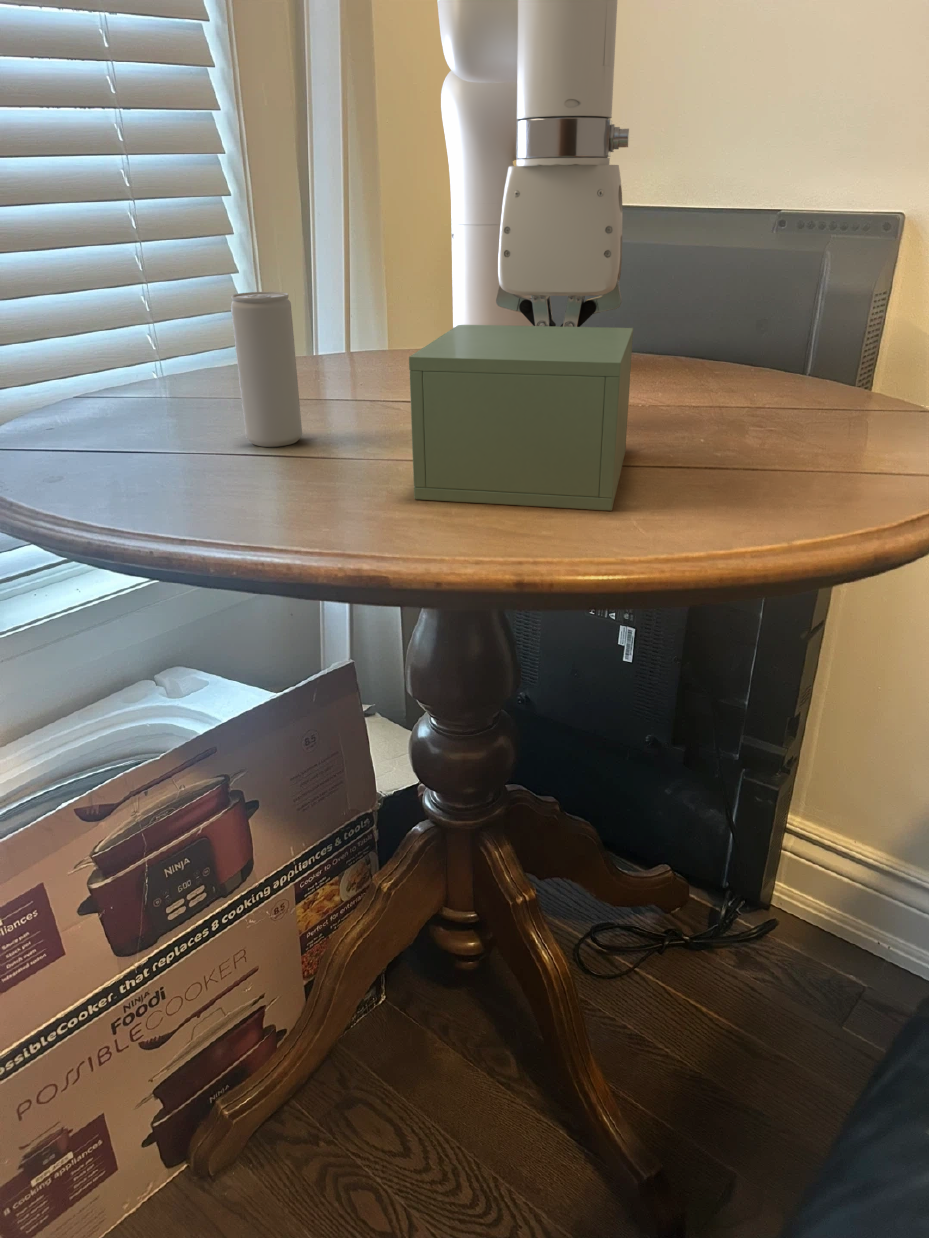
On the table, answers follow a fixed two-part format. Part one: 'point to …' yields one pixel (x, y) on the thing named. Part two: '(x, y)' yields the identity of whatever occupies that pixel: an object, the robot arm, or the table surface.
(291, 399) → the beverage can
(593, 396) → the cabinet
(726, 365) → the table surface
